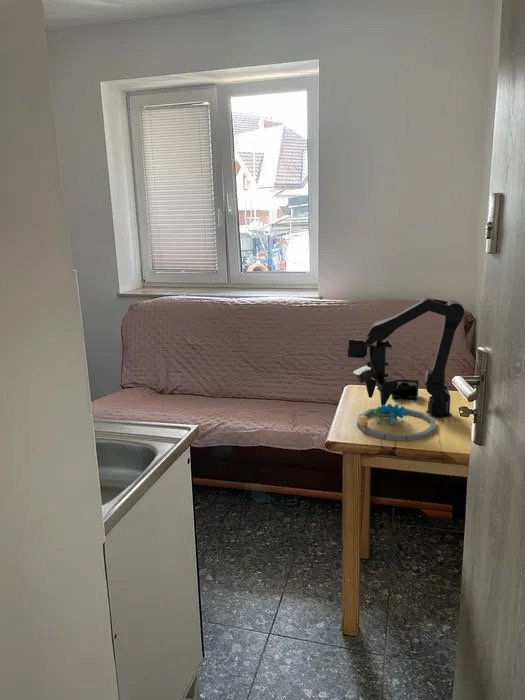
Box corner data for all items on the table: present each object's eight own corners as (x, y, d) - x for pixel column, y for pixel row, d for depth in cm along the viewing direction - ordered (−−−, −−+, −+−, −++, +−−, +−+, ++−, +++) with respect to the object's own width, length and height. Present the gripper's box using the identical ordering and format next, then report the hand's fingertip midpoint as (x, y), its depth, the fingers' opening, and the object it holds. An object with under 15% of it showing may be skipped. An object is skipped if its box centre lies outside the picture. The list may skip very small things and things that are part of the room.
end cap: (417, 394, 207) (418, 378, 205) (418, 401, 200) (418, 383, 199) (390, 393, 210) (391, 376, 208) (390, 399, 203) (390, 382, 201)
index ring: (409, 407, 194) (410, 395, 193) (451, 433, 170) (452, 420, 169) (344, 416, 187) (344, 404, 186) (378, 445, 164) (378, 431, 163)
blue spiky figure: (410, 414, 183) (404, 401, 175) (409, 431, 180) (403, 418, 172) (378, 415, 188) (371, 402, 180) (376, 430, 185) (369, 418, 177)
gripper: (344, 354, 193) (344, 396, 197) (369, 368, 176) (368, 413, 180) (373, 351, 196) (371, 392, 200) (399, 365, 179) (398, 409, 183)
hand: (376, 401), depth 191 cm, fingers open, 9 cm apart
